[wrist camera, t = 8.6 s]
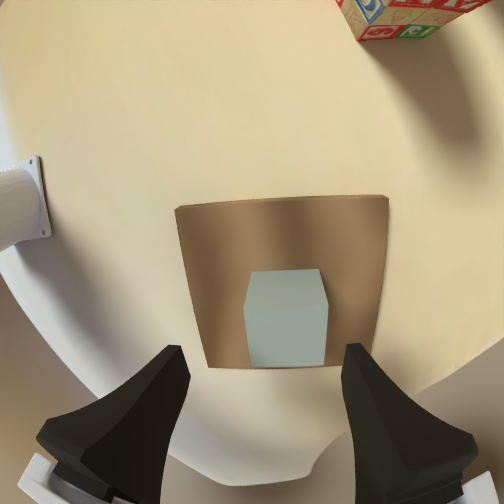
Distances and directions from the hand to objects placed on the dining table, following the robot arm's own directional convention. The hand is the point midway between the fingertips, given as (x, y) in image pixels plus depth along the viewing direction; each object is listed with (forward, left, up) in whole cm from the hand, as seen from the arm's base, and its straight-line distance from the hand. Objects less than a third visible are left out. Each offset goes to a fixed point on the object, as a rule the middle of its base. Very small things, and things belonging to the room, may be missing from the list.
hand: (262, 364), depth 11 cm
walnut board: (+1, -2, -9) cm, 10 cm away
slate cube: (+1, -2, -8) cm, 8 cm away
